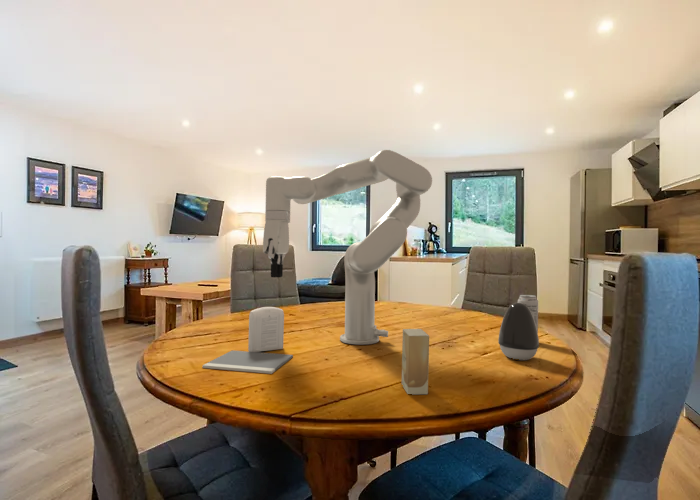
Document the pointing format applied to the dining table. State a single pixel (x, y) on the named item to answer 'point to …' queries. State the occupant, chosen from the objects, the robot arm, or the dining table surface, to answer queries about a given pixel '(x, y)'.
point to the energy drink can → (531, 306)
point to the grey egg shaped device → (518, 333)
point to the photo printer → (266, 329)
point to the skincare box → (415, 361)
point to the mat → (249, 361)
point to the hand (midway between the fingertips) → (276, 277)
